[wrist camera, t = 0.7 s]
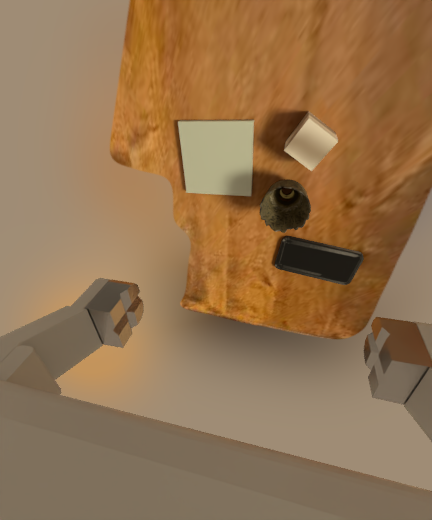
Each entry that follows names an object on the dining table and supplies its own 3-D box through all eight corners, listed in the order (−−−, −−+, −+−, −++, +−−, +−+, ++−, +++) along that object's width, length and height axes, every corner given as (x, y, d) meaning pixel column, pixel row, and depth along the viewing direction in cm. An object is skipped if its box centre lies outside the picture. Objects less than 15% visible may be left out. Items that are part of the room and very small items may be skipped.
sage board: (180, 120, 45) (177, 121, 44) (253, 119, 42) (253, 121, 42) (188, 190, 52) (186, 192, 52) (251, 193, 50) (251, 196, 49)
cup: (269, 212, 51) (264, 235, 45) (261, 174, 47) (254, 193, 41) (312, 206, 48) (313, 229, 42) (307, 164, 44) (307, 183, 38)
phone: (283, 236, 52) (365, 255, 50) (283, 233, 53) (364, 252, 51) (273, 268, 57) (348, 286, 55) (274, 264, 58) (347, 282, 56)
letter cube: (308, 111, 40) (308, 118, 36) (335, 132, 41) (338, 141, 37) (285, 142, 43) (283, 151, 40) (310, 160, 44) (310, 172, 40)
